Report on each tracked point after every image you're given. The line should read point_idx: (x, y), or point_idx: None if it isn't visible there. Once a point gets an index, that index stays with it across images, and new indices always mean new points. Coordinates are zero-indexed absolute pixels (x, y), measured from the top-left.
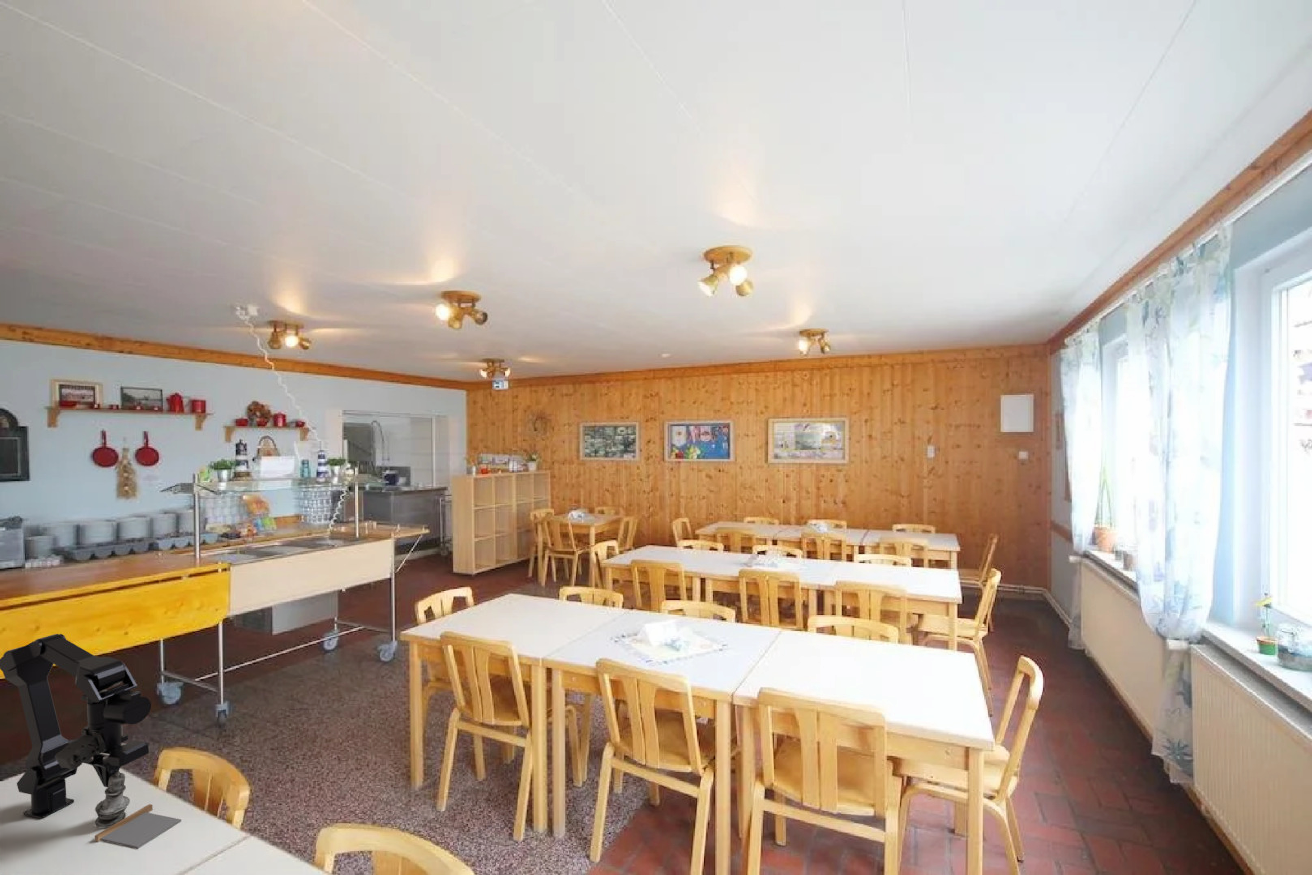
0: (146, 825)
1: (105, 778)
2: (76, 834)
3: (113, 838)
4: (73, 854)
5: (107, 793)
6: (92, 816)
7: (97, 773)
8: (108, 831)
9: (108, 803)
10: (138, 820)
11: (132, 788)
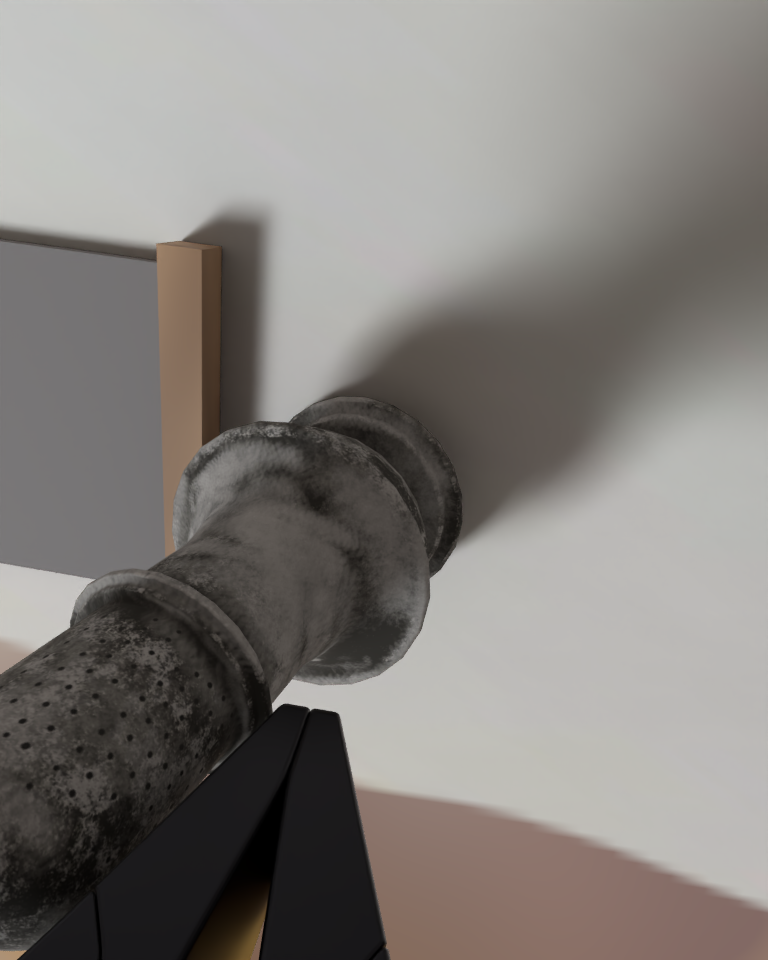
0: None
1: (175, 821)
2: (502, 311)
3: (60, 278)
4: (208, 35)
5: (151, 588)
6: (607, 540)
7: (381, 956)
8: (164, 334)
9: (223, 523)
10: (122, 504)
11: (612, 831)
